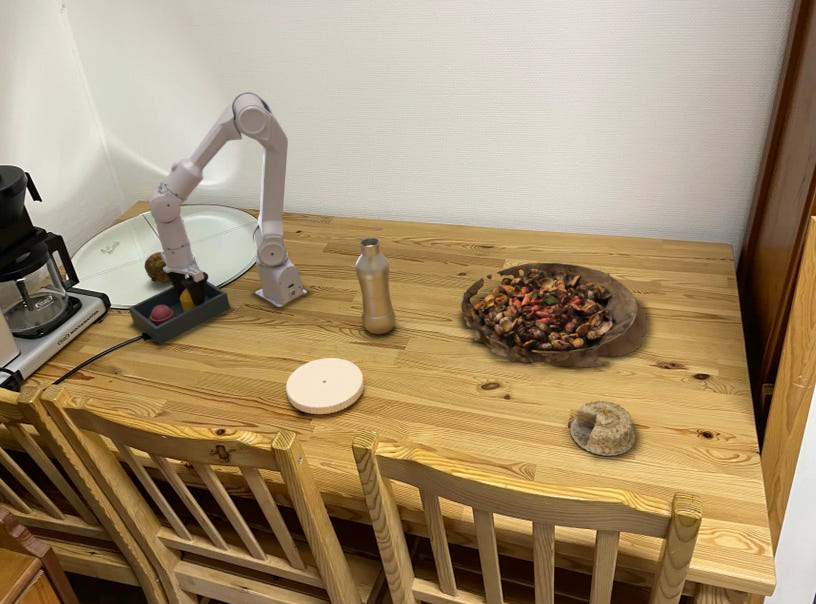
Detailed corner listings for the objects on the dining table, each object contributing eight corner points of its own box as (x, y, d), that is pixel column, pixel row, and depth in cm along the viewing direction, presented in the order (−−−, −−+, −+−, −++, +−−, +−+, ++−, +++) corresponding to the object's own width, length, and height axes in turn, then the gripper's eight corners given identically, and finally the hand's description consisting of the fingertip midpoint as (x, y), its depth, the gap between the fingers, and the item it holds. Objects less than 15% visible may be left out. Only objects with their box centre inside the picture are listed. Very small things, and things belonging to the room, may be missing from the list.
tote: (230, 310, 160) (226, 292, 157) (161, 347, 151) (155, 329, 148) (201, 291, 168) (197, 274, 165) (134, 325, 159) (128, 307, 157)
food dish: (440, 357, 139) (436, 323, 134) (488, 272, 163) (486, 241, 159) (635, 386, 124) (638, 349, 120) (656, 288, 148) (659, 254, 144)
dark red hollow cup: (180, 324, 156) (175, 305, 153) (160, 335, 154) (154, 315, 151) (169, 316, 159) (163, 297, 157) (149, 326, 157) (143, 307, 154)
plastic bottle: (394, 338, 144) (384, 250, 133) (360, 338, 145) (348, 250, 134) (398, 320, 149) (390, 233, 138) (366, 319, 150) (355, 234, 139)
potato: (200, 267, 178) (192, 238, 173) (167, 294, 169) (158, 265, 164) (173, 262, 181) (165, 234, 177) (140, 289, 172) (130, 260, 168)
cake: (616, 410, 121) (622, 385, 118) (646, 452, 112) (653, 426, 109) (559, 418, 120) (564, 393, 117) (585, 461, 111) (590, 435, 108)
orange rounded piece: (209, 308, 160) (203, 286, 157) (190, 317, 158) (184, 296, 155) (198, 300, 163) (192, 279, 160) (179, 310, 161) (173, 288, 158)
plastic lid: (340, 426, 124) (338, 415, 123) (273, 406, 131) (271, 396, 129) (377, 378, 134) (376, 367, 133) (313, 361, 141) (311, 351, 139)
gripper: (142, 240, 154) (159, 294, 162) (176, 261, 145) (192, 317, 152) (171, 228, 158) (186, 281, 165) (206, 248, 148) (220, 303, 156)
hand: (191, 298), depth 159 cm, fingers open, 7 cm apart
